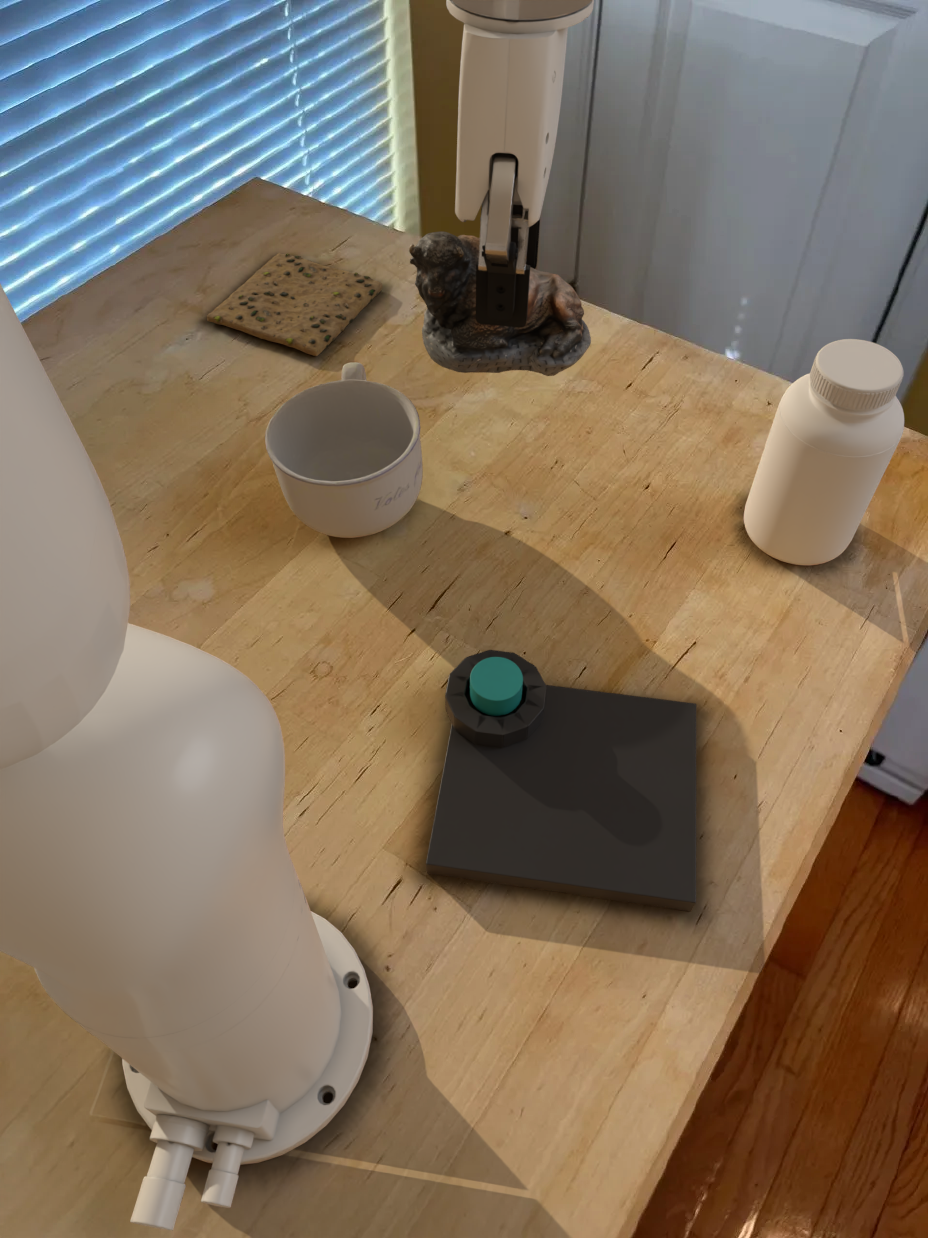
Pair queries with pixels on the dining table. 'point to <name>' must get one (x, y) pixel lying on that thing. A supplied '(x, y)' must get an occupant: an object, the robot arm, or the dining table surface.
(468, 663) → the scale
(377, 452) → the teacup
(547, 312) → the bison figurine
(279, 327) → the cookie
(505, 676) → the button
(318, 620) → the dining table surface
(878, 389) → the pill bottle
